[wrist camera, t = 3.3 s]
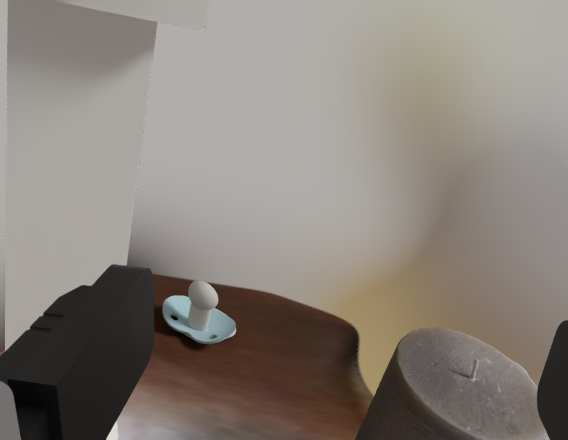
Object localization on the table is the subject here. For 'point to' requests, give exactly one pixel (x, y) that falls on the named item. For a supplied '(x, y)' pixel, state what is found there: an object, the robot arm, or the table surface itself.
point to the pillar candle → (452, 393)
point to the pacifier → (199, 315)
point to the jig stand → (75, 141)
